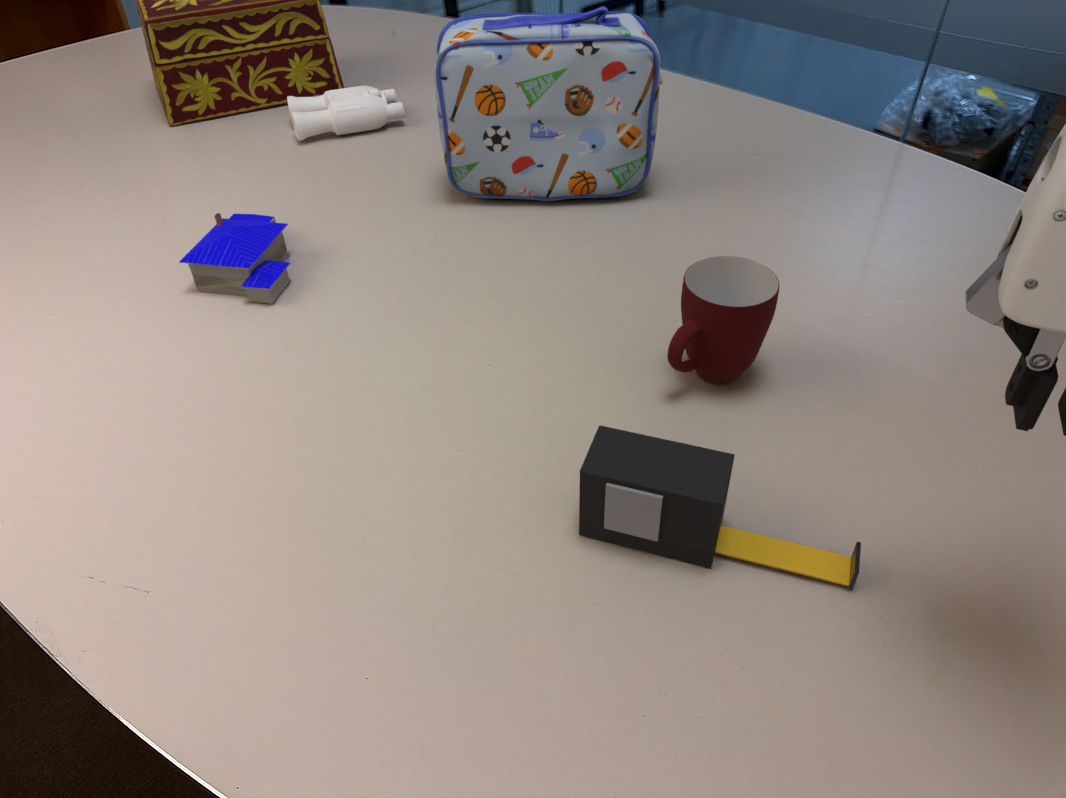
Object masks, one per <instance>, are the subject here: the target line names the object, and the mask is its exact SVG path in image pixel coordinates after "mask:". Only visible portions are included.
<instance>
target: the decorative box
mask: <svg viewBox="0 0 1066 798" xmlns="http://www.w3.org/2000/svg"><path fill="white" fill-rule="evenodd" d="M134 1H135V5H136V9H137V13H138V18H139V21H140V26H141V30H142V31H141V32H142V35H143V38H144V43H145V48H146V52H147V55H148V59H149V63H150V64H149V65H150V68H151V73H152V77H153V80H154V84H155V89H156V92H157V94H158V97H159V100H160V103H161V107H162V110H163V112H164V116H165V118H166V121H167V124H168V125H169V127H174V126H180V125H185V124H191V123H197V122H201V121H207V120H212V119H213V120H214V119H217V118H218V119H219V118H222V117H227V116H233V115H238V114H243V113H249V112H255V111H259V110H265V109H270V108H276V107H280V106H285V105H288V102H287V96H294V97H316V96H321V95H323V94H324V93H325V91H329V90H335V89H342V88H345V86H344V82H343V79H342V75H341V71H340V67H339V63H338V60H337V57H336V53H335V50H334V45H333V43H332V39H331V37H330V32H329V28H328V23H327V21H326V17H325V13H324V10H323V7H322V2H321V0H134Z"/></svg>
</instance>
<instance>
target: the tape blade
mask: <svg viewBox="0 0 1066 798" xmlns="http://www.w3.org/2000/svg"><path fill="white" fill-rule="evenodd" d="M861 548H862V542H861V541H856V542H855V545H854V548H853V551H852V553H851V555H847V554H842V553H839V552H834V551H830V550H825V549H821V548H817V547H813V546H809V545H805V544H801V543H796V542H792V541H788V540H784V539H780V538H775V537H771V536H767V535H763V534H759V533H756V532H755V533H754V532H751V531H746V530H743V529H739V528H734V527H730V526H726V525H722V524H721V525H720V530H719V534H718V538H717V543H716V547H715V552H714V554H717V555H720V556H721V555H722V556H726V557H728V558H729V557H730V558H732V559H737V560H741V561H746V562H750V563H753V564H757V565H762V566H766V567H769V568H773V569H777V570H782V571H786V572H790V573H792V574H793V573H794V574H796V575H801V576H805V577H810V578H814V579H818V580H822V581H826V582H830V583H832V584H833V583H834V584H838V585H841V586H846V587H847V590H850V591H853V590H854V587H855V585H856V582H857V580H858V578H859V574H860V564H861V550H862V549H861Z"/></svg>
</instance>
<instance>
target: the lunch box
mask: <svg viewBox="0 0 1066 798" xmlns="http://www.w3.org/2000/svg"><path fill="white" fill-rule="evenodd" d="M663 83H664V80H663V77H662V73H661V56H660V52H659V49H658V46H657V45H656V44H655V42H654V41H653V37H652V33H651V30H650V27H649V25H648V24H647V21H645V20H644V19H643V18H642V17H640V16H638V15H637V14H635V13H632V12H627V11H615V10H614V11H609V9H608V8H607V7H606V6H604V5H602V6H600V7H598V8H595V9H593V10H590V11H585V12H563V13H561V12H549V13H548V12H491V13H490V12H489V13H476V14H475V13H474V14H469V15H468V14H467V15H462V16H460V17H456V18H454V19H452V20H450V21H449V22H448V23H447V24H446V25H445V26H444V27H443V28H442V30H441V31H440V33H439V35H438V39H437V45H436V59H435V63H434V87H435V99H436V110H437V112H436V113H437V120H438V129H439V136H440V141H441V146H442V147H441V148H442V153H443V160H444V165H445V171H446V176H447V179H448V183H449V184H450V185H451V187H452V188H453V189H454V190H455V191H456V192H458V193H460V194H462V195H465V196H468V197H472V198H479V199H481V198H482V199H500V200H501V199H502V200H503V199H504V200H529V201H540V202H555V201H562V200H572V199H573V200H574V199H596V198H597V199H598V198H599V199H600V198H602V199H603V198H616V197H617V198H618V197H623V196H628V195H630V194H632V193H634V192H636V191H638V190H639V189H640V188H641V187H642V186H644V184H645V183H646V181H647V180H648V178H649V175H650V172H651V168H652V164H653V158H654V154H655V153H654V152H655V148H656V147H655V146H656V139H657V129H658V118H659V109H660V108H659V106H660V85H663Z"/></svg>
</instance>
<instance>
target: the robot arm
mask: <svg viewBox="0 0 1066 798" xmlns="http://www.w3.org/2000/svg"><path fill="white" fill-rule="evenodd" d="M1013 215H1014V216H1013V218H1012V219H1011V222H1010V224H1009V226H1008V228H1007V230H1006V233H1005V235H1004V236H1003V240H1002V242H1001V245H1000V247H999V250H998V253H997V257H996V259H995V260H994V261H993V262H992V263H991V264H990V265H989V266H988V267H987V268H986V269H985V270H984V271H983V273H981V275H979V276H978V278H977V279H976V280H975V281H974V282H973V283H972V284H971V285H970V286H969V287H968V288H967V289H966V291H965V292H964V297H965V309H966V310H967V311H966V312H968V313H970V314H972V315H973V316H975V317H977V318H979V319H980V320H983V321H984V322H987V323H988V324H990V325H993V326H995V327H996V326H997V327H999V328H1002V329H1003V330H1004V333H1005V334H1006V335H1007V336H1008V337H1009V339H1010V340H1011V341H1012V343H1013V344H1014V346H1015V347H1016V348H1017V349H1018V351H1019V352H1020V356H1019V359H1018V361H1017V363H1016V365H1015V367H1014V369H1013V371H1012V373H1011V376H1010V378H1009V380H1008V383H1007V385H1006V387H1005V391H1004V392H1005V393H1004V398H1005V400H1004V401H1005V405H1006V406H1009V407H1012V409H1013V415H1014V424H1015V429H1016V430H1017V431H1024V432H1029V430H1034V428H1035V426H1036V424H1037V422H1038V420H1039V419H1040V416H1041V414H1042V412H1043V410H1044V408H1045V406H1046V405H1047V402H1048V401H1049V399H1050V396H1051V395H1052V393H1053V391H1054V389H1055V387H1056V385H1057V383H1058V380H1059V372H1058V367H1057V363H1058V361H1059V356H1058V355H1059V353H1060V351H1061V349H1062V347H1063V345H1064V342H1065V340H1066V123H1065V124H1064V126H1063V127H1062V129H1061V130H1060V132H1059V134H1058V135H1057V136H1056V138H1055V140H1054V141H1053V143H1052V145H1051V147H1050V148H1049V150H1048V151H1047V153H1046V154H1045V156H1044V158H1043V159H1042V162H1041V163H1040V165H1039V167H1038V169H1037V170H1036V172H1035V174H1034V176H1033V178H1032V179H1031V181H1030V183H1029V185H1028V187H1027V190H1026V191H1025V194H1024V195H1023V197H1022V199H1021V201H1020V203H1019V205H1018V207H1017V209H1016V211H1015V213H1014V214H1013ZM1057 409H1058V414H1059V419H1060V425H1061V428H1062V429H1061V431H1062V434H1063V436H1064V437H1066V387H1065V388H1064V390H1063V392H1062V394H1061V396H1060V397H1059V400H1058V402H1057Z"/></svg>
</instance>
